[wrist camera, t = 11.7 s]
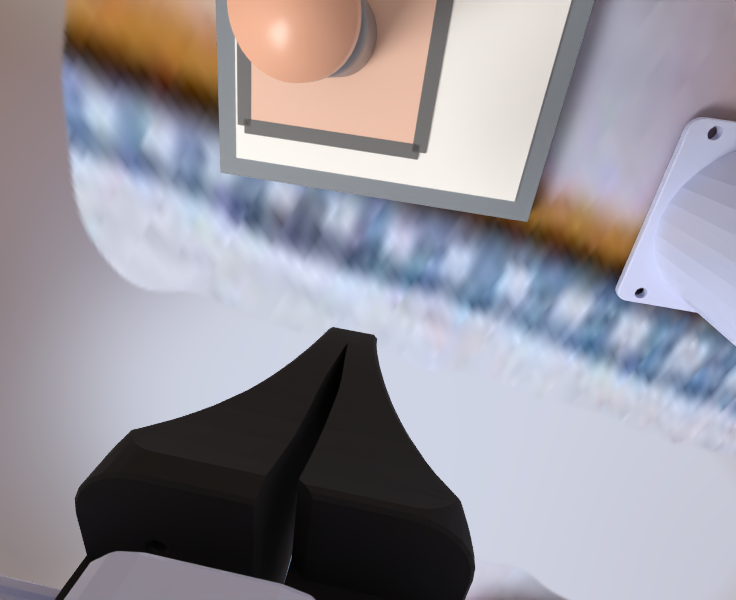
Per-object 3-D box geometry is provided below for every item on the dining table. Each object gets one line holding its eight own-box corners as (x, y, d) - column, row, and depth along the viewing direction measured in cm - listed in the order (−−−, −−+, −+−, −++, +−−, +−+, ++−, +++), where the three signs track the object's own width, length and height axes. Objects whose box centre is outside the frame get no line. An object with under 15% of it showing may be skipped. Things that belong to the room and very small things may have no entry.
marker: (368, 88, 18) (342, 96, 11) (291, 68, 17) (222, 65, 11) (388, -5, 16) (370, -56, 10) (304, -28, 16) (232, -92, 10)
